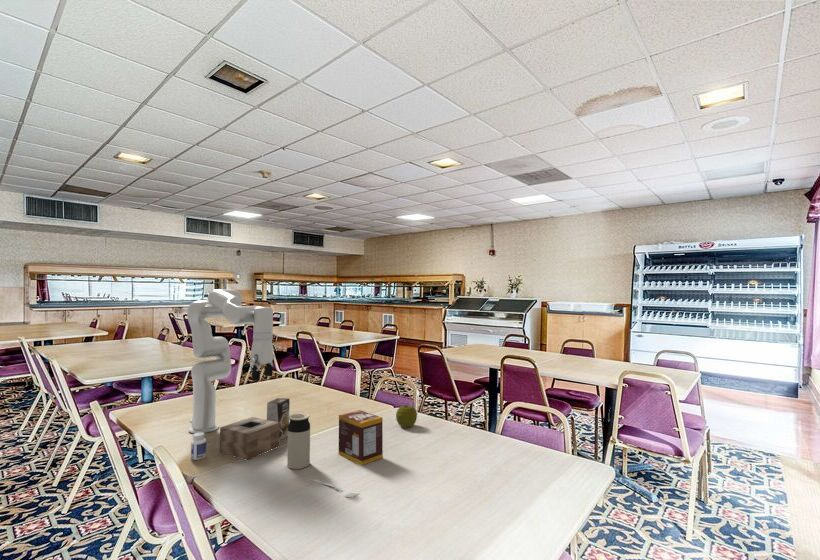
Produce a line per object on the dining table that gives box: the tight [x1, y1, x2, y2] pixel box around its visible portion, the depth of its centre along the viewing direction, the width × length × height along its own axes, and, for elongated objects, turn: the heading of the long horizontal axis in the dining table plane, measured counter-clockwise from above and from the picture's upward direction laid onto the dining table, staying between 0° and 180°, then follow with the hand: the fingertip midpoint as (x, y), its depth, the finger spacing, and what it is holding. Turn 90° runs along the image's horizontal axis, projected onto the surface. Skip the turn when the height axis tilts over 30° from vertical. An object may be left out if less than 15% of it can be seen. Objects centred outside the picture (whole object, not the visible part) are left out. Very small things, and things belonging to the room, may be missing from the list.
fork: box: [313, 478, 361, 498], centre depth 134 cm, size 3×24×2 cm, turn 51°
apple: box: [395, 403, 418, 429], centre depth 196 cm, size 10×10×11 cm
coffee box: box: [266, 397, 291, 442], centre depth 181 cm, size 9×6×16 cm
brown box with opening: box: [219, 416, 280, 461], centre depth 166 cm, size 16×16×10 cm
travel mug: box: [286, 412, 311, 470], centre depth 151 cm, size 8×8×18 cm
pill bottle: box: [190, 432, 207, 461], centre depth 158 cm, size 5×5×9 cm
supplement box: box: [338, 409, 384, 466], centre depth 160 cm, size 10×15×16 cm
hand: (262, 378), depth 168 cm, fingers open, 9 cm apart
